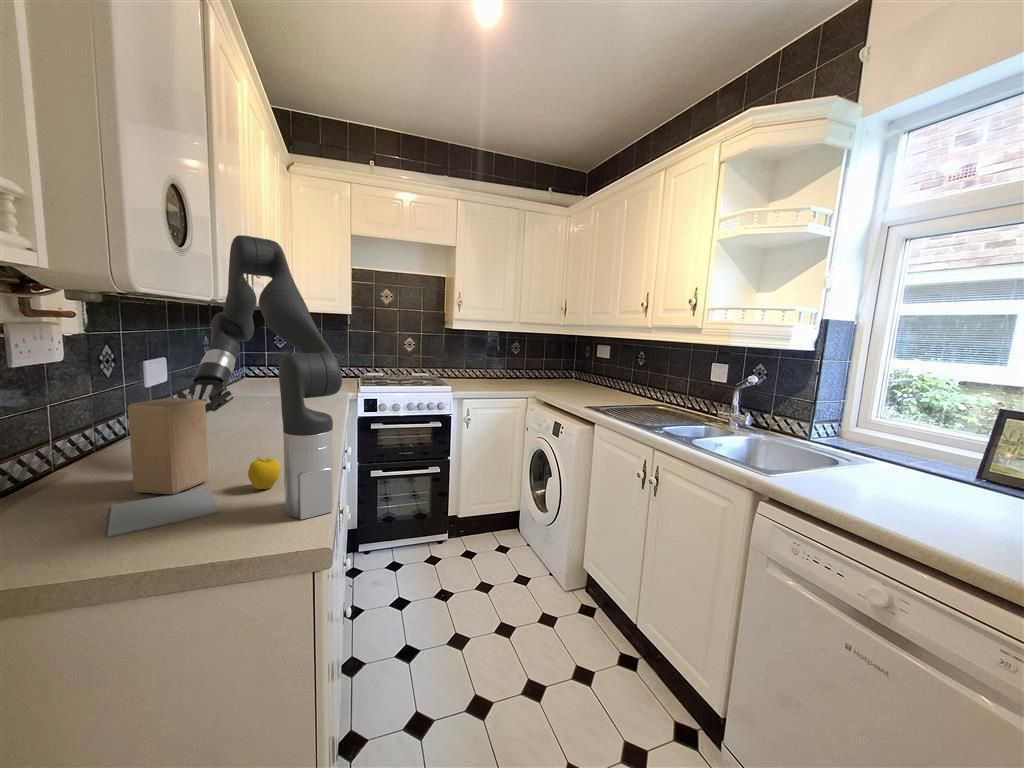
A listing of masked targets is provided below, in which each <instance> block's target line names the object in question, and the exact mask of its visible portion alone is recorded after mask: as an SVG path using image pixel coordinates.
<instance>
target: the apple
mask: <svg viewBox="0 0 1024 768" xmlns="http://www.w3.org/2000/svg"><path fill="white" fill-rule="evenodd" d="M280 473H281V465H280V462H279V461H278V460H277V459H275V458H272V457H271V458H270V457H269V458H267V457H266V458H260V457H257V458H256V460H253V461H252V462H251V463H250V465H249V467H248V472H247V476H248V477H247V478H248V480H249V482H250V483H251V485H252V487H253V488H255V489H256V490H267V489H271V488H272V487H273V486H274V485H275V484H276V483H277V481H279V478H280V476H281V475H280Z"/></svg>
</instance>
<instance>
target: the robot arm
mask: <svg viewBox="0 0 1024 768" xmlns="http://www.w3.org/2000/svg"><path fill="white" fill-rule="evenodd" d="M228 262H229V263H228V282H227V284H228V285H227V287H228V288H227V293H226V298H225V302H224V305H223V309H222V311H221V312H218V313H216V314H214V316H213V318H212V321H211V341H210V343H209V345H208V348H207V351H206V353H205V354H204V356H203V357H202V358H201V361H200V363H199V365H198V368H197V371H196V372H195V374H194V377H193V380H192V381H193V382H192V383H191V384H190V385H189V386H188V388H187V389H185V390H183V391H182V390H181V389H178V390H177V391H176V394H177V396H178V398H180V399H190V398H191V397H192V399H200V400H203V401H204V402H205V411H206V414H207V413H209V412H217V410H219V409H220V408H222V407H223V406H225V405H226V404H227V403H230V401H232V400H233V399H234V397H235V396H233V393H232V392H231V391H230V390H228V389H227V388H228V385H229V383H230V381H231V377H232V374H233V373H234V369H235V365H236V360H237V358H238V355H239V352H240V348H241V346H240V343H239V342H241V343H242V342H247V341H250V340H251V339H252V337H253V336H254V333H255V323H254V319H253V316H254V311H255V310H256V307H257V295H256V293H255V291H254V289H253V288H252V287H251V285H250V284H249V282H248V281H247V279H246V278H245V275H251V276H257V277H258V276H260V277H268V278H271V280H270V281H269V282H268V283H267V284H266V286H265V287H263V289H262V291H261V293H260V294H259V298H258V307H259V309H260V310H259V311H260V313H261V315H262V317H263V319H264V323H265V324H266V326H267V327H268V328H269V330H270V331H271V332H272V333H273V334H275V335H276V336H277V337H279V338H280V339H281V340H283V341H285V342H286V343H287V344H289V345H291V346H292V347H294V348H296V349H297V350H298V351H299V352H289V353H285V354H284V355H282V356H281V359H280V361H279V365H278V366H279V367H278V380H279V381H278V382H279V383H278V384H279V391H280V392H279V393H280V404H281V405H280V406H281V418H282V419H281V420H282V431H283V433H282V437H283V476H284V477H283V478H284V480H283V482H284V504H285V505H284V508H285V509H284V510H285V511H284V512H285V514H286V515H287V516H289V517H292V518H297V519H299V520H305V519H310V518H313V517H317V516H322V515H325V514H329V513H332V512H333V507H334V505H335V504H334V453H333V452H334V443H333V442H334V435H333V432H334V431H333V429H334V428H333V427H334V424H333V422H334V421H333V417H332V416H331V415H330V414H329V413H326V412H323V411H322V412H321V411H318V410H313V409H310V408H308V407H306V405H305V399H311V398H322V397H329V396H333V395H337V393H338V392H339V391H340V390H341V388H342V385H343V375H342V370H341V368H340V364H339V362H338V359H337V358H336V357H335V354H334V353H333V352H332V350H331V347H329V345H328V343H327V342H326V341H325V339H324V337H323V336H322V335H321V333H320V331H319V329H318V328H317V325H316V324H315V322H314V320H313V318H312V316H311V315H312V314H311V313H310V310H309V307H308V306H307V303H306V302H305V300H304V298H303V296H302V295H301V292H300V290H299V288H298V287H297V284H296V283H295V280H294V278H293V275H292V273H291V270H290V267H289V263H288V261H287V258H286V255H285V252H284V250H283V248H282V246H281V245H280V244H279V243H278V242H276V241H274V240H272V239H268V238H263V237H256V236H250V235H242V234H241V235H236V236H234V238H233V239H232V242H231V245H230V249H229V260H228ZM190 395H192V396H191V397H190Z"/></svg>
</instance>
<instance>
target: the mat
mask: <svg viewBox="0 0 1024 768" xmlns="http://www.w3.org/2000/svg"><path fill="white" fill-rule="evenodd" d="M109 513H110V515H109V521H108V529H107V538H109V537H114V536H115V537H116V536H120V535H124V534H128V533H129V534H130V533H133V532H136V531H142V530H147V529H151V528H157V527H161V526H164V525H170V524H174V523H178V522H183V521H187V520H191V519H192V520H193V519H198V518H202V517H207V516H212V515H214V514H219V510H218V507H217V505H216V503H215V500H214V498H213V495H212V492H211V490H210V488H209V487H205V488H201V489H195V490H189V491H182V492H178V493H176V494H165V495H162V496H156V497H151V498H145V499H139V500H135V501H127V502H124V503H117V504H111V505H110V512H109ZM197 517H198V518H197Z"/></svg>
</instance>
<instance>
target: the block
mask: <svg viewBox="0 0 1024 768" xmlns="http://www.w3.org/2000/svg"><path fill="white" fill-rule="evenodd" d="M206 417H207V413H206V411H205V402H204V401H203V400H200V399H193V398H189V399H180V398H179V397H178V398H177V397H176V398H175V397H167V398H166V397H164V398H159V399H153V400H145V401H139V402H133V403H130V404H129V405H128V406H127V418H128V428H129V430H128V431H129V443H130V445H129V446H130V455H131V456H130V457H131V469H132V482H133V483H132V484H133V490H134V492H136V493H142V494H143V493H146V494H147V493H148V494H158V495H159V494H161V495H172V494H177V493H182V492H184V491H185V490H188V489H190V488H193V487H195V486H197V485H200V484H203V483H204V482H205V483H206V482H207V481H209V479H210V470H209V469H210V468H209V466H210V465H209V453H208V452H209V449H208V435H207V432H208V431H207V418H206Z"/></svg>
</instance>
